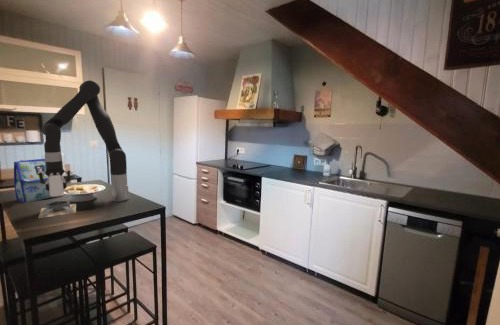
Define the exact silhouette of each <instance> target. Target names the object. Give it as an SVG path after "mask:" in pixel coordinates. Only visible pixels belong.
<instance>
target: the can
mask: <svg viewBox="0 0 500 325" xmlns="http://www.w3.org/2000/svg"><path fill="white" fill-rule="evenodd" d="M60 175H61V174H60ZM60 175H49V176H50V177H49V192H50V196H51V197H52V198H56V197H62V196H64V195H65V189H64V187H63V181H62V178H61V176H60ZM62 177H64V175H62Z"/></svg>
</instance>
